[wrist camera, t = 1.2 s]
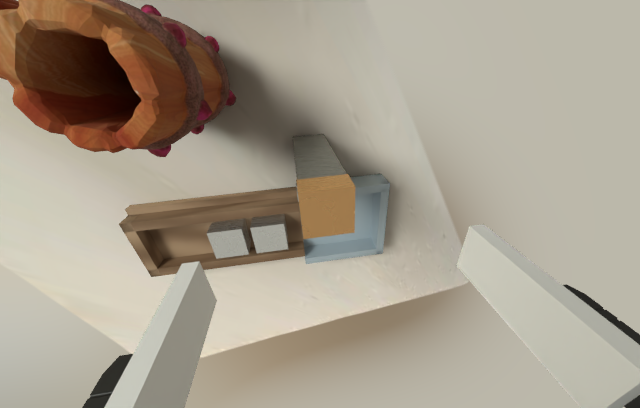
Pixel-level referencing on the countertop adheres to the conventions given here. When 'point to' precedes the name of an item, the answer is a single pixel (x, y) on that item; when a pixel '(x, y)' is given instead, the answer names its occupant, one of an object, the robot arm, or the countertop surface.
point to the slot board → (194, 221)
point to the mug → (110, 73)
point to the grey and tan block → (322, 189)
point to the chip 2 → (269, 233)
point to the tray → (356, 225)
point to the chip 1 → (229, 238)
